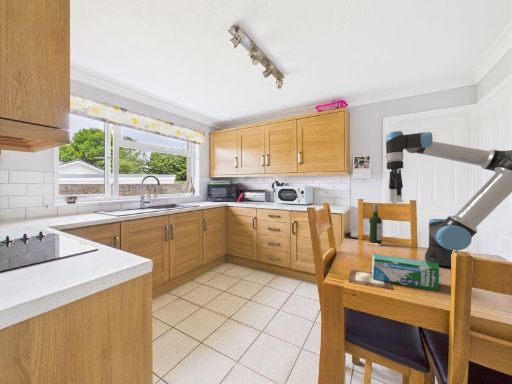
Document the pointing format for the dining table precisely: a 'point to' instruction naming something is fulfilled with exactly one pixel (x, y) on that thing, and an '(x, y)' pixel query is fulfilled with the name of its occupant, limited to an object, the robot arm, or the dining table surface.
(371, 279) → the rest board
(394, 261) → the milk carton
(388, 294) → the dining table surface
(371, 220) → the wine bottle
